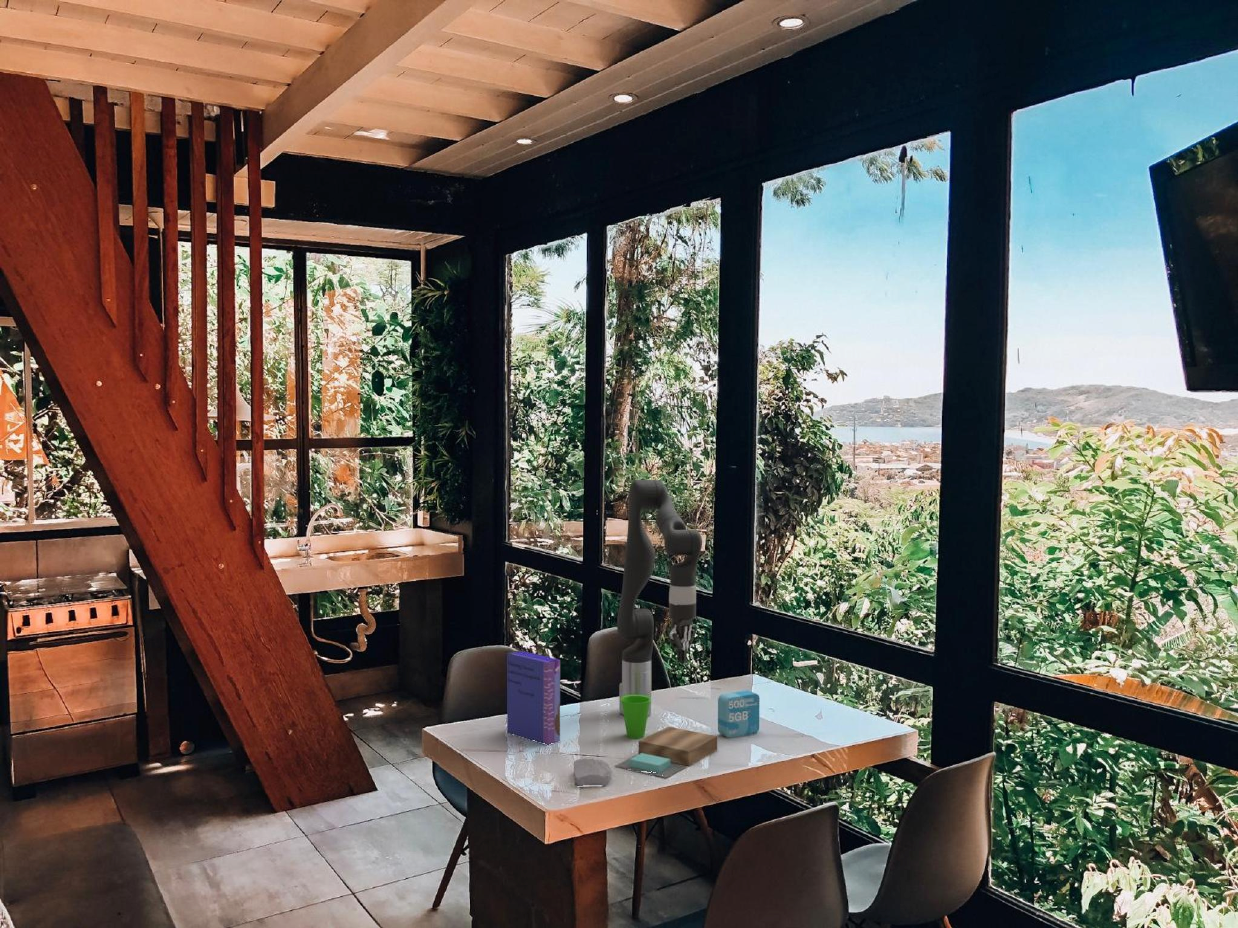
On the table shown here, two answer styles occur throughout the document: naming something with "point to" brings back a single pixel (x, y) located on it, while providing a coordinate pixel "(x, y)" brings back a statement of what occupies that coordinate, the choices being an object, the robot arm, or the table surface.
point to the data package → (738, 713)
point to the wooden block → (678, 745)
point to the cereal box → (533, 696)
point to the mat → (665, 773)
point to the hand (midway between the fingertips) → (681, 662)
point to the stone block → (591, 772)
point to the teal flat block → (650, 763)
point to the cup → (635, 714)
